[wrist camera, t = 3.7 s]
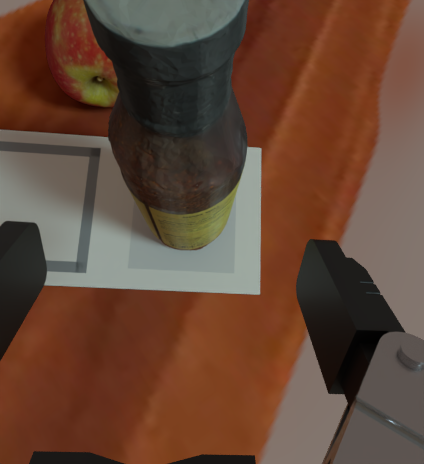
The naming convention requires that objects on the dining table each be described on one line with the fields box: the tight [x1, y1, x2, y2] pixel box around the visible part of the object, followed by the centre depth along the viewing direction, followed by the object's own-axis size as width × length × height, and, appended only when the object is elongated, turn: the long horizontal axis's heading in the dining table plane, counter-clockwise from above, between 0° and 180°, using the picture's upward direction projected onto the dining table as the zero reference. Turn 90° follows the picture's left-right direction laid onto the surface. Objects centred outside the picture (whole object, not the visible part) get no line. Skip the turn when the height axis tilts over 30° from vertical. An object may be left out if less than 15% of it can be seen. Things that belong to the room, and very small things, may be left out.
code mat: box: [0, 130, 261, 295], centre depth 27 cm, size 23×12×1 cm, turn 88°
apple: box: [45, 0, 119, 107], centre depth 26 cm, size 8×8×8 cm
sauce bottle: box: [83, 0, 249, 251], centre depth 18 cm, size 6×6×20 cm
